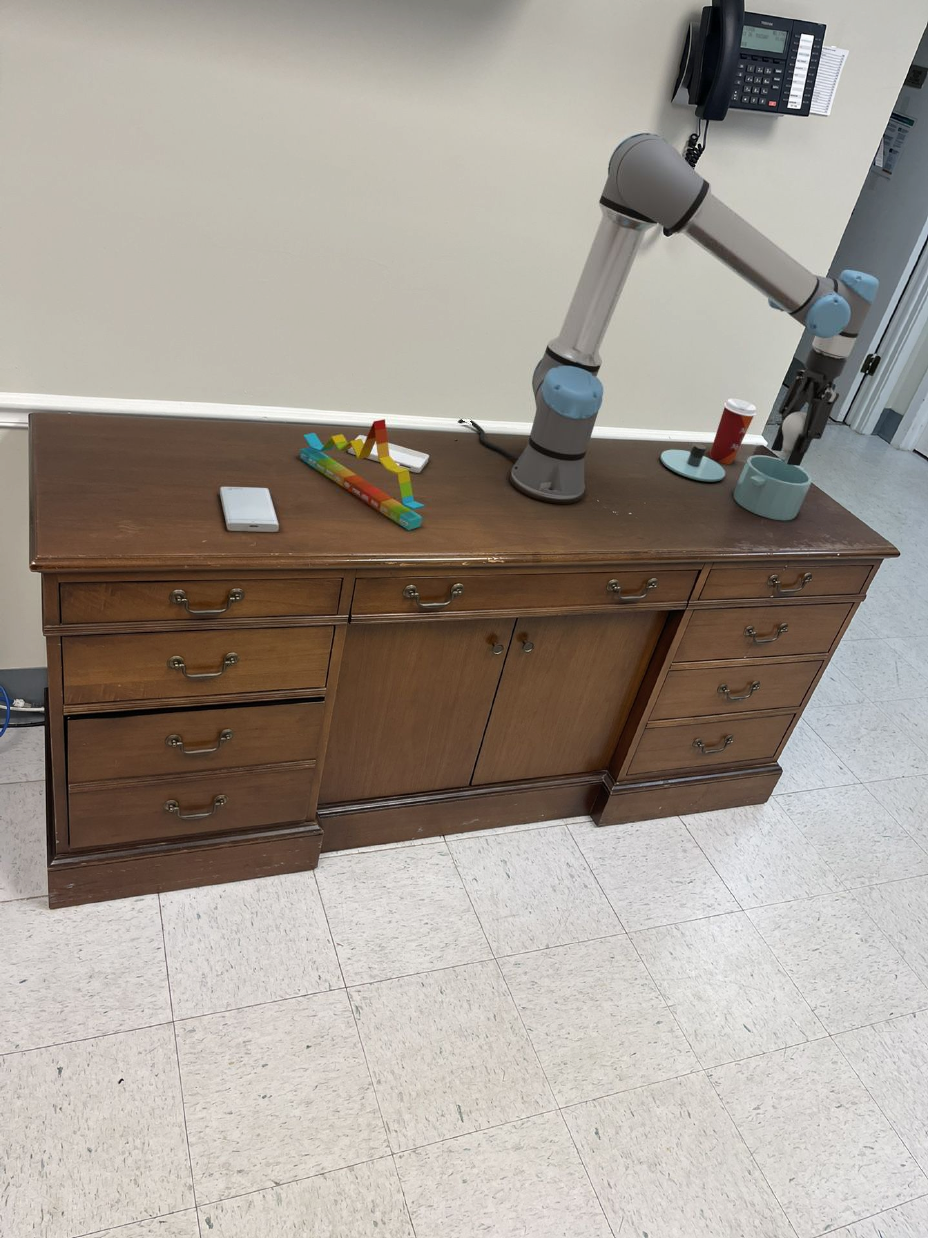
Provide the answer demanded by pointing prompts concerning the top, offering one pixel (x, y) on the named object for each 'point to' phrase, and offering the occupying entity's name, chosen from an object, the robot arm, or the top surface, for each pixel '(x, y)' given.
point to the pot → (772, 487)
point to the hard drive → (248, 509)
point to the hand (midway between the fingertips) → (785, 457)
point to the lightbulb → (791, 433)
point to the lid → (693, 464)
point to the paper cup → (732, 429)
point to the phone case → (399, 456)
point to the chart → (359, 485)
